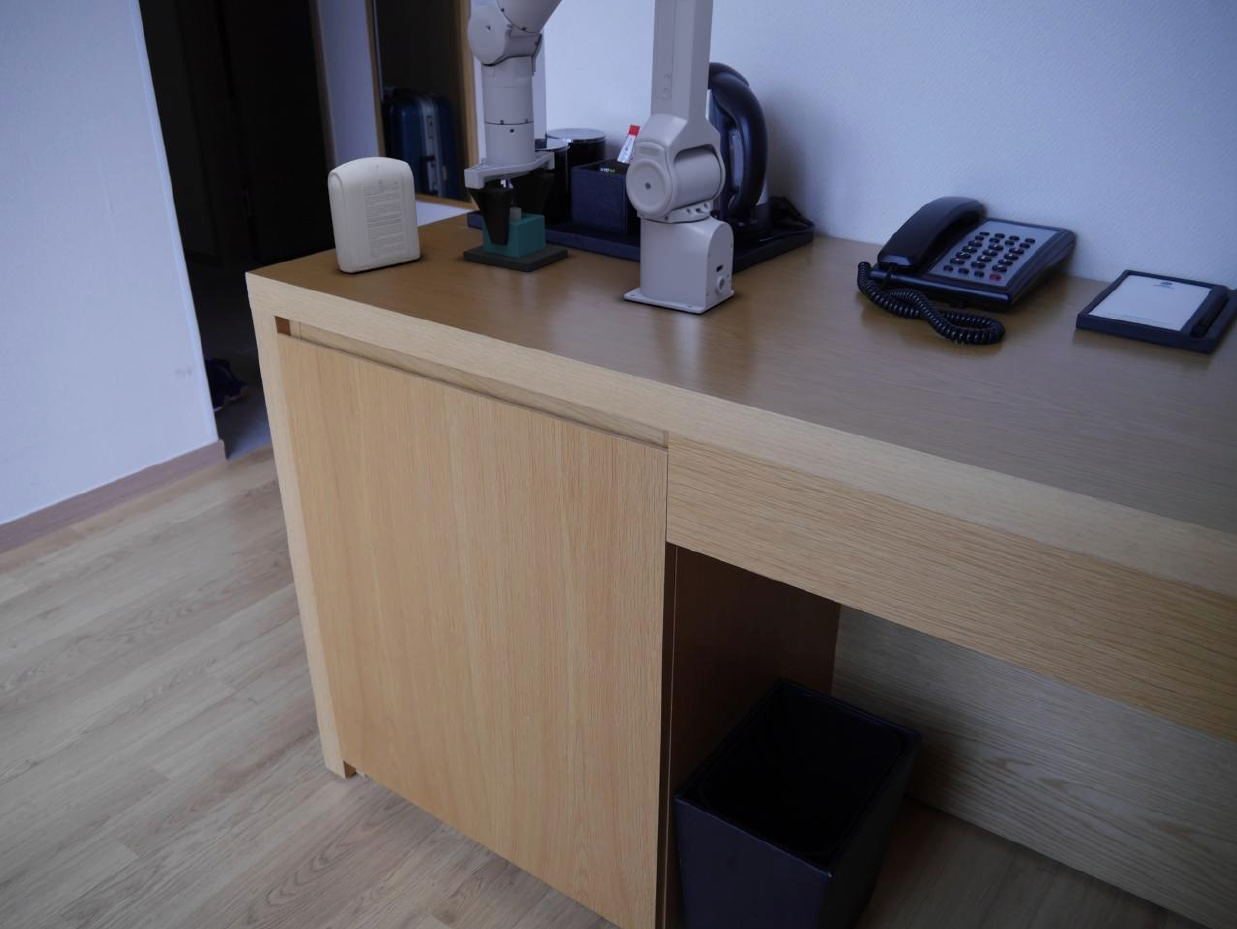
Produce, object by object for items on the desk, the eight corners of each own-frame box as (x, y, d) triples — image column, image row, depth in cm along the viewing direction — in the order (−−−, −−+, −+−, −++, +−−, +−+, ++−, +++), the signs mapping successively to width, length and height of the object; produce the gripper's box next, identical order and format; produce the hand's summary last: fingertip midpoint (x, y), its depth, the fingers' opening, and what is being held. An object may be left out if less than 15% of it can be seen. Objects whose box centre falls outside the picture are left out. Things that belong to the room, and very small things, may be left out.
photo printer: (407, 252, 120) (396, 150, 114) (426, 259, 117) (416, 154, 112) (333, 269, 114) (317, 161, 108) (351, 276, 111) (337, 166, 105)
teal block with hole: (545, 248, 118) (544, 215, 116) (518, 258, 114) (517, 224, 112) (511, 242, 121) (509, 210, 119) (483, 251, 117) (481, 218, 115)
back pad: (567, 256, 119) (566, 207, 116) (528, 272, 113) (526, 220, 110) (504, 245, 123) (501, 197, 121) (463, 259, 117) (459, 210, 115)
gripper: (520, 111, 118) (525, 222, 124) (440, 126, 107) (450, 246, 113) (567, 115, 115) (569, 229, 121) (489, 131, 104) (496, 255, 110)
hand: (514, 238), depth 117 cm, fingers closed on teal block with hole, 5 cm apart
